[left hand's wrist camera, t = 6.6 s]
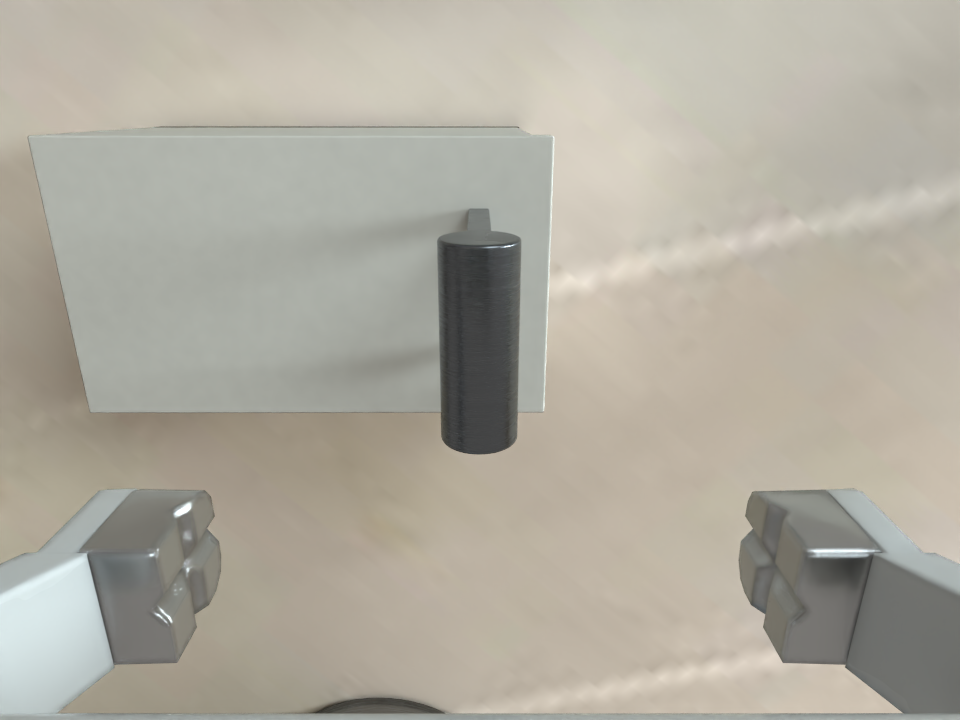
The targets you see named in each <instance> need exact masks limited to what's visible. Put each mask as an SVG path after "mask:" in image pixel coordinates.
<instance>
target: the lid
mask: <svg viewBox="0 0 960 720" xmlns="http://www.w3.org/2000/svg"><path fill="white" fill-rule="evenodd" d="M28 141H29V146H30V150H31V154H32V159H33V163H34V168H35V172H36V176H37V181H38V185H39V190H40V194H41V199H42V203H43V207H44V212H45V216H46V221H47V225H48V229H49V234H50V238H51V243H52V247H53V251H54V256H55V260H56V265H57V269H58V274H59V278H60V282H61V287H62V291H63V296H64V300H65V304H66V309H67V313H68V318H69V322H70V326H71V331H72V335H73V340H74V344H75V349H76V353H77V357H78V362H79V366H80V371H81V375H82V379H83V384H84V388H85V393H86V397H87V402H88V406H89V410H90V413H406V412H441V437H442V440H443V442H444V443H445V444H446V445H447V446H448V447H450V448H452V449H454V450H456V451H459V452H463V453H468V454H490V453H496V452H499V451H503V450H505V449H507V448H509V447H510V446H512V445H513V444H514V442H515V441H516V439H517V419H518V412H544V399H545V373H546V347H547V320H548V294H549V267H550V241H551V214H552V188H553V161H554V136H551V135H32V136H28Z"/></svg>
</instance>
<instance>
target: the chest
mask: <svg viewBox="0 0 960 720" xmlns="http://www.w3.org/2000/svg"><path fill="white" fill-rule="evenodd" d="M47 135H531V134H529V133H527V132H525V131H523V130H522V129H520V128H519V127H153V128H138V129H123V130H108V131H93V132H78V133H62V134H47Z"/></svg>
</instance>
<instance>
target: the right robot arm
mask: <svg viewBox="0 0 960 720" xmlns="http://www.w3.org/2000/svg"><path fill="white" fill-rule="evenodd" d="M315 714H446V713H444V712H442V711H439V710H437V709H435V708H432V707H429V706H427V705H424V704H420V703H416V702H412V701H407V700H401V699H392V698H367V699H358V700H352V701H347V702H343V703H340V704H336V705H333V706H330V707H328V708H325V709H323V710H321V711H319V712H317V713H315Z"/></svg>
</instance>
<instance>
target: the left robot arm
mask: <svg viewBox="0 0 960 720" xmlns="http://www.w3.org/2000/svg"><path fill="white" fill-rule="evenodd" d="M214 516H215V515H214V510H213V505H212V500H211V496H210V495H209V494H208V493H207V492H206V491H204V490H153V489H140V490H137V489H106V490H101V491H98V492H97V493H96V494H95V495H94V496H93V497H92V498H91V499H90V500H89V501H88V502H87V503H86V504H85V505H84V506H83V507H82V508H81V509H80V510H79V511H78V512H77V513H76V514H75V515H74V516H73V517H72V518H71V519H70V520H69V521H68V522H67V523H66V524H65V525H64V526H63V527H62V528H61V529H60V530H59V531H58V532H57V533H56V534H55V535H54V536H53V537H52V538H51V539H50V540H49V541H48V542H47V543H46V544H45V545H44V546H43V547H42V548H41V549H40V550H39V551H38V552H37V553H24V554H22V555H19V556H17V557H15V558H13V559H11V560H8V561H6V562H4V563H2V564H0V720H960V564H958V563H956V562H954V561H952V560H949V559H947V558H945V557H943V556H941V555H938V554H936V553H923V552H922V551H921V550H920V549H919V548H918V547H917V546H916V545H915V544H914V543H913V542H912V541H911V540H910V539H909V538H908V537H907V536H906V535H905V534H904V533H903V532H902V531H901V530H900V529H899V528H898V527H897V526H896V525H895V524H894V523H893V522H892V521H891V520H890V519H889V518H888V517H887V516H886V515H885V514H884V513H883V512H882V511H881V510H880V509H879V508H878V507H877V506H876V505H875V504H874V503H873V502H872V501H871V500H870V499H869V498H868V497H867V496H866V495H865V494H864V493H863V492H861V491H859V490H856V489H828V490H794V491H758V492H752V494H751V496H750V498H749V500H748V503H747V509H746V514H745V516H746V518H747V520H748V521H749V523H750V524H751V526H752V527H753V529H752V530H751V532H750V533H749V534H748V535H747V536H746V537H745V538H744V539H743V540H742V541H741V546H740V554H739V569H740V579H741V582H742V586H743V589H744V592H745V594H746V596H747V598H748V600H749V602H750V604H751V605H752V606H754V607H755V608H757V609H758V610H760V611H761V612H763V613H764V614H765V620H764V626H763V628H764V630H765V631H766V633H767V635H768V637H769V639H770V640H771V642H772V644H773V646H774V648H775V649H776V651H777V653H778V655H779V657H780V658H781V660H782V662H783V663H808V664H844V665H846V668H847V669H848V670H849V671H851V672H852V673H853V674H854V675H856V676H857V677H858V678H859V679H861V680H862V681H863V682H865V683H866V684H867V685H868V686H870V687H871V688H872V689H873V690H875V691H876V692H877V693H878V694H880V695H881V696H882V697H884V698H885V699H886V700H887V701H889V702H890V703H891V704H892V705H894V706H895V707H896V708H897V709H899V710H900V711H901V712H903V713H800V714H103V713H58V712H59V711H60V710H61V709H63V708H64V707H65V706H67V705H68V704H69V703H70V702H72V701H73V700H74V699H75V698H77V697H78V696H79V695H81V694H82V693H83V692H84V691H86V690H87V689H88V688H89V687H91V686H92V685H93V684H94V683H96V682H97V681H98V680H100V679H101V678H102V677H103V676H105V675H106V674H107V673H108V672H110V671H111V670H112V669H114V665H116V664H151V663H177V662H178V660H179V658H180V657H181V655H182V653H183V651H184V649H185V648H186V646H187V644H188V642H189V640H190V639H191V637H192V635H193V633H194V631H195V629H196V628H197V626H196V620H195V614H196V613H197V612H199V611H200V610H202V609H203V608H205V607H206V606H208V605H209V604H210V602H211V600H212V598H213V596H214V594H215V592H216V590H217V585H218V581H219V577H220V572H221V552H220V545H219V541H218V540H217V539H216V538H215V537H214V536H213V535H212V534H211V533H210V532H209V530H208V529H207V527H208V526H209V524H210V523H211V521H212V520H213V518H214Z"/></svg>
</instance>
